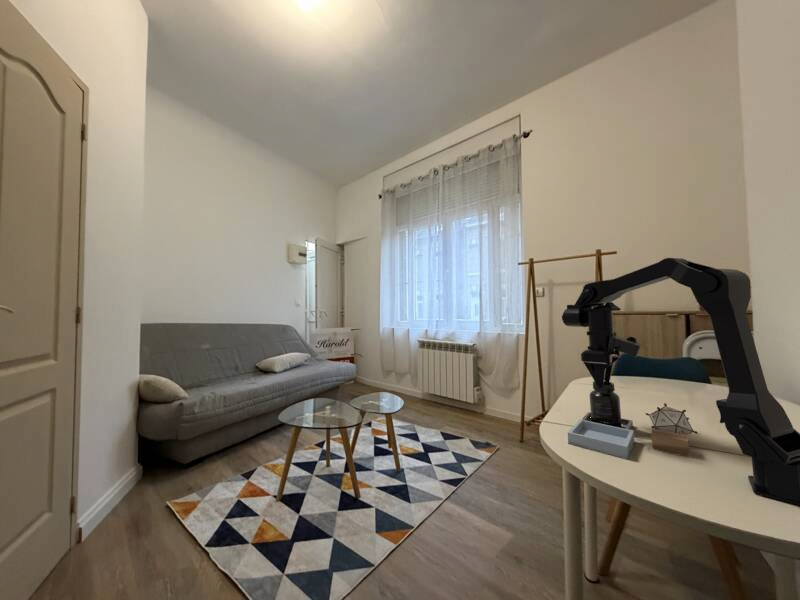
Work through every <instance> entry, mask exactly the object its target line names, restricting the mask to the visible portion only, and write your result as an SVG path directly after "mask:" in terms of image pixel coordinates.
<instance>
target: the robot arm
mask: <svg viewBox="0 0 800 600" xmlns="http://www.w3.org/2000/svg"><path fill="white" fill-rule="evenodd" d="M669 279H672V280H673V281H674V282H676V283H678V284H679V285H682V286H684V287H687V288H690V290H691V292H692V295H693V296H694V299H695V300H696V302H697V304H698V305H699V306H700V307H701V308H702V309H703V311H705V312H706V314H707V315H708V316H709V319H710V322H711V326H712V329H713V334H714V337H715V341H716V345H717V349H718V353H719V358H720V360H721V365H722V369H723V371H724V376H725V380H726V383H727V384H726V385H727V388H728V394H727V397H726V398H721V399H716V401H715V402H716V407H717V409H718V412H719V414H720V415H719V416H720V417H719V418H720V419H719V423H720V424H724V426H725V429H726V431H727V432H728V434H730V436H733V437H734V439H735V441H736V443H737V445H738V446H739V448H740V451H741V452H742V454H743V455H746V456H748V457H751V462H752V463H751V464H752V465H751V467H752V475H748V476H747V479H748V481H749V485H750V487H751V490H752V492H753V493H754V494H756V495H760V496H763V497H765V498H766V497H767V498H770V499H774V500H779V501H782V502H786V503H788V504H789V503H790V504H794V505H796V506H797V505H798V506H800V432H798V431H797V430H796V429H795V428H794V425H793V424H792V421H791V420H790V418H789V416H788V415H787V412H786V410H785V409H784V407H783V405H781V404H780V402H778V400H777V399H776V398H775V397H774V396H773V395H772V394H771V392H770V391H769V389H768V386H767V382H766V380H765V376H764V371H763V367H762V365H761V362H760V361H761V360H760V357H759V354H758V351H757V347H756V344H755V341H754V337H753V333H752V330H751V326H750V322H749V320H748V315H747V310H748V308H749V304H750V301H751V297H752V293H751V292H752V289H751V288H752V287H751V279H750V277H749V275H748V274H747V273H745V272H743V271H741V270H738V269H732V268H716V267H713V266H709V265H704V264H700V263H697V262H693V261H690V260H687V259H685V258H683V257H682V258H679V257H666V258H663V259H661V260H660V261H658V262H656V263H653V264H650V265H648V266H645V267H642V268H640V269H637V270H634V271H632V272H628V273H626V274H623V275H621V276H617V277H615V278H612V279H611V278H610V279H606V280H604V279H603V280H598V281H597V280H596V281H592V282H588V283H586V284H585V285H584V286H583V289H582V291H581V292H580V294H579V296H578V298H577V300H576V302H575V303H574V304H566V308H565V309H564V311H563V313H562V315H561V321H562V322H563V324H564V325H565V326H567V327H571V328H572V327H573V328H574V327H577V328H579V327H580V328H587V329H588V330H587V331H586V336H588V344H589V345H588V346H587V349H585V350H583V351H582V352H581V353H580V360H581V362H582V363H583V364H584V366H585V367H586V369H587V371H588V372H589V374H590V376H591V377H592V379H593V382H594V381H595V383H596V385H597V387H598V388H603V385H604V381H607V382H611V377H612V372H613V367H614V364H615V362H616V361H617V360H619V359H620V358H621V356H622V353H623V354H626V355H628V356H630V357H633V358H637V357H638V356H639V354H640V351H641V348H642V346H643V344H641V343H639V342H638V340H637V337H634V336H631V335H630V336H629V337H627V338H623V337H619V336H617V332H616V331H615V330H614V321H613V320H614V319H613V317H614V316H613V312H620V311H621V309H622V308H620V307H619V306H618V305H617V304H615V303H614V302H613V301H616V300H618V299H620V298H621V297H622V296H623V295H624V294H626V293H629V292H631V291H635V290H638V289H641V288H643V287H647V286H650V285H654V284H656V283H659V282H662V281H666V280H669Z"/></svg>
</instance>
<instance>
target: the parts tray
mask: <svg viewBox="0 0 800 600" xmlns="http://www.w3.org/2000/svg"><path fill="white" fill-rule="evenodd" d="M635 440H636V439H635V430H633V429H631V430H628V429H626V428H619V427H614V426H609V425H604V424H600V423H595V422H591V420H588V421H585V420H581V419H579V420H578V421H577V422H576V423H575V424H574V425H573V426H572V428H570V429H569V430H568V431H567V444H568V445H573V446H576V447H580V448H584V449H587V450H591V451H595V452H599V453H602V454H606V455H610V456H614V457H617V458H622V459H625V460H628V459H629V457H630V456H631V452H632V450H633V447H634V445H635Z"/></svg>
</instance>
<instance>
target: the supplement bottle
mask: <svg viewBox="0 0 800 600" xmlns="http://www.w3.org/2000/svg"><path fill="white" fill-rule="evenodd" d="M592 389H593V390H592V391H591V392H590V393H589V406H590V407H589V409H590V412H591V418H590V419H591V420H590V422H595V423H600V424H604V425H609V426H614V427H619V428H622V427H623V425H622V423H621V418H622V411H621V399H620V398H621V397H620V396H619V395H618V394H617V392H615V390H616V388H615V384H614V382H611V381H609V382H607V381H605V380H604V385H603V388H598V387H597V385H596V383H595V381H594V380H593V381H592Z"/></svg>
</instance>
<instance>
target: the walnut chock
mask: <svg viewBox="0 0 800 600" xmlns="http://www.w3.org/2000/svg"><path fill="white" fill-rule="evenodd" d="M688 435H689V434H688ZM688 435H683V434H678V433H673V432H668V431H662V430H657V429H655V428H651V446H652V450H657V451H660V452H661V451H662V452H664V453H665V452H666V453H670V454H674V455H678V456H682V457H687V458H690V448H689V446H690V445H689V436H688Z"/></svg>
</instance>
